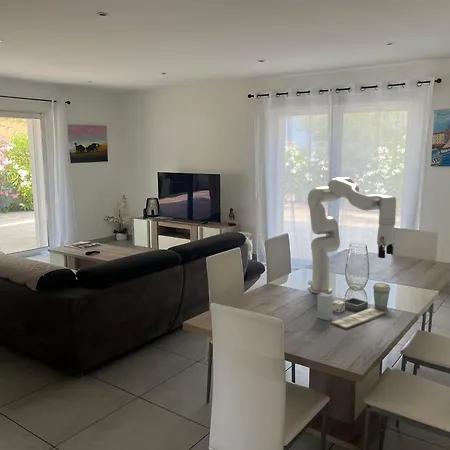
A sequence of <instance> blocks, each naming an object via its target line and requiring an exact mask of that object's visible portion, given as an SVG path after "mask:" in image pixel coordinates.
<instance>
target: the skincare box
mask: <svg viewBox="0 0 450 450" xmlns="http://www.w3.org/2000/svg"><path fill="white" fill-rule="evenodd" d="M316 297H317V299H316V300H317V318H318V319H321V320H324V321H331V320H332V319H333V310H332V302H333V295H332V294H330V293H327V294H325V293H320V294H317V296H316Z"/></svg>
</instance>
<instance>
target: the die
mask: <svg viewBox="0 0 450 450" xmlns="http://www.w3.org/2000/svg"><path fill="white" fill-rule="evenodd" d="M343 301H344V300H340V299H337V300H334V301H333V300H332V312H333V311H334V312H337V313H342V312H345V311H346V308H345V302H343Z"/></svg>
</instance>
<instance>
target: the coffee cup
mask: <svg viewBox="0 0 450 450" xmlns="http://www.w3.org/2000/svg"><path fill="white" fill-rule="evenodd" d="M372 289H373V299H374V302H373V303H374V309H376V310H386V309H387V308H388V302H389V299H390V297H389V296H390V291H391V287H390V285H389V283H385V282H377V283H374V284H373V286H372Z"/></svg>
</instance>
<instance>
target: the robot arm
mask: <svg viewBox="0 0 450 450" xmlns="http://www.w3.org/2000/svg"><path fill="white" fill-rule="evenodd" d="M341 198H343V199H346V200H348V202H349V204H350V205H351V206H352V207H355V208H357V209H359V210H361V211H367V212H368V211H375V210H376V211H377V210H378V229H377V235H376V236H377V237H376V239H377V240H376V243H377V250H378V252H377V254H378V255H377V257H378V258H380V259H385V258H386V255H393V254H394V241H395V226H396V215H397V214H396V211H397V198H396V197H395V196H394V195H384V194H380V193H377V194H376V193H374V194H373V193H372V194H363V193H361V192H360V188H359V186H358V185H357V184H354V181H353V180H352V178H350V177H346V176H344V177H334V178H332V179H330V180H329V181H328V184H327V186H319V187H314V188H312V189H311V190H310V191H309V193H308V195H307V205H308V208H309V214H310V224H311V230H312V233H313V234H314V235H323V236H317V237H316V238H314V239H313V240H311V243H310V247H311V248H310V249H311V254H312V255H311V256H312V271H311V272H312V273H311V274H312V277H311V278H312V279H311V280H309V281H308V282H307V285H310V287H309V291H310V292H311V293H314V294H317V295H318V294H320V293H325V294H330V293H332V292H333V291H332V287H330V262H331V261H330V258H329V256H328V253H332V252H336V251H338V250H339V249H340V246H341V245H340V244H341V241H340V240H341V239H340V230H339V223H338V221H337V219H336V218H335V217H333V216H327V215H326V208H325V206H324V205H323V204H322V203H327V202H334V201H337V200H339V199H341Z"/></svg>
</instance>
